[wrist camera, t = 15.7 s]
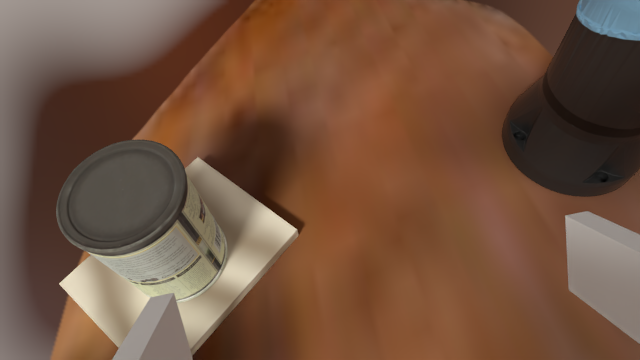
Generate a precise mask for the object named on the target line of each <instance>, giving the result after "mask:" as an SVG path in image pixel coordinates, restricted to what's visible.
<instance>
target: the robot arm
mask: <svg viewBox="0 0 640 360" xmlns="http://www.w3.org/2000/svg"><path fill="white" fill-rule="evenodd" d="M502 138H503V144H504V147H505V150H506V152H507V154H508V156H509V157H510V159H511V160H512V162H513V163H514V164H515V166H516V167H517V168H518V169H519V170H520V171H521V172H522V173H523V174H525V175H526V176H527V177H528V178H530V179H531V180H533V181H534V182H536V183H538V184H539V185H541V186H543V187H545V188H548V189H550V190H553V191H555V192H559V193H562V194H567V195H572V196H597V195H602V194H606V193H609V192H612V191H614V190H616V189H618V188H619V187H621V186H622V185H624V184H625V183H626V182H627V181H628V180H629V179H630V178H631V177H632V176H633V175H634V174H635V173H636V172H637V171H638V169H639V168H640V0H580V1H579V3H578V6H577V12H576V14H575V17H574V19H573V20H572V22H571V24H570V27H569V29H568V30H567V32H566V34H565V36H564V38H563V40H562V42H561V44H560V46H559V48H558V50H557V52H556V53H555V55H554V57H553V59H552V61H551V63H550V65H549V67H548V69H547V71H546V73H545V75H544V76H543V77H541V78H540V79H539V80H538V81H537V82H536V83H535V84H533V85H532V86H531V87H530V88H529V89H528V90H526V91H525V92H524V93H523V94H522V95H521V96H520V97H519V98H518V99H517V100H516V101H515V102H514V103H513V105H512V106H511V108H510V110H509V112H508V115H507V117H506V119H505V121H504V124H503V129H502ZM565 219H566V240H567V262H568V284H569V290H570V291H571V292H572V293H574V294H575V295H576V296H578V297H579V298H580V299H581V300H583V301H584V302H585V303H587V304H588V305H589V306H591V307H592V308H593V309H595V310H596V311H597V312H599V313H600V314H601V315H603V316H604V317H605V318H606V319H608V320H609V321H610V322H612V323H613V324H614V325H616V326H617V327H618V328H620V329H621V330H622V331H624V332H625V333H626V334H627V335H629V336H630V337H631V338H633V339H634V340H635V341H637V342H638V343H639V344H640V235H639V234H637V233H635V232H633V231H630V230H628V229H626V228H624V227H622V226H619V225H617V224H615V223H613V222H610V221H608V220H606V219H604V218H602V217H599V216H597V215H595V214H593V213H591V212H588V211H586V212H581V213H576V214H571V215H566V216H565ZM112 360H193V358H192V354H191V351H190V347H189V344H188V340H187V337H186V333H185V330H184V326H183V323H182V319H181V316H180V312H179V309H178V305H177V302H176V298H175V295H174V293H170V294H165V295H160V296H155V297H150V299H149V301H148V302H147V304H146V305H145V307H144V309H143V310H142V312H141V314H140V315H139V317H138V318H137V320H136V322H135V323H134V325H133V326H132V328H131V330H130V331H129V333H128V335H127V336H126V338H125V339H124V341H123V343H122V344H121V346H120V348H119V349H118V351H117V352H116V354H115V356H114V357H113V359H112Z"/></svg>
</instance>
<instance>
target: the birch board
mask: <svg viewBox="0 0 640 360" xmlns="http://www.w3.org/2000/svg"><path fill="white" fill-rule="evenodd" d="M185 172H186V174H187V176H188V177H189V179H190V180H191V182H192V184H193V185H194V187H195V188H196V190H197V192H198V193H199V195H200V196H201V198H202V200H203V201H204V203H205V205H206V206H207V208H208V209H209V211H210V213H211V214H212V216H213V217H214V219H215V221H216V222H217V224H218V225H219V226H220V227H221V229H222V231H223V232H224V235H225V237H226V241H227V248H228V252H227V260H226V263H225V266H224V269H223V271H222V273H221V274H220V276H219V278H218V279H217V280H216V281H215V283H214V284H213V285H212V286H211V287H210V288H209V289H208V290H207V291H205V292H204V293H202V294H201V295H199V296H197V297H196V298H193V299H191V300H189V301H185V302H182V303H177V305H178V309H179V312H180V316H181V319H182V323H183V326H184V330H185V333H186V337H187V340H188V344H189V347H190V351H191V354H192V356H193V354H194V353H195V352H196V351H197V350H198V349H199V348H200V347H201V345H202V344H203V343H204V342H205V341H206V340H207V339H208V337H209V336H210V335H211V334H212V333H213V332H214V331H215V330H216V328H217V327H218V326H219V325H220V324H221V323H222V322H223V320H224V319H225V318H226V317H227V316H228V315H229V314H230V313H231V311H232V310H233V309H234V308H235V307H236V306H237V305H238V303H239V302H240V301H241V300H242V299H243V298H244V297H245V296H246V294H247V293H248V292H249V291H250V290H251V289H252V288H253V286H254V285H255V284H256V283H257V282H258V281H259V280H260V279H261V277H262V276H263V275H264V274H265V273H266V272H267V271H268V269H269V268H270V267H271V266H272V265H273V264H274V263H275V262H276V260H277V259H278V258H279V257H280V256H281V255H282V254H283V252H284V251H285V250H286V249H287V248H288V247H289V246H290V245H291V243H292V242H293V241H294V240H295V239H296V238H297V237H298V231H297V229H296V228H294V227H293V226H292V225H290V224H289V223H287V222H286V221H285V220H283V219H282V218H281V217H279V216H278V215H276V214H275V213H274V212H272V211H271V210H270V209H268V208H267V207H266V206H264V205H263V204H261V203H260V202H259V201H257V200H256V199H255V198H253V197H252V196H250V195H249V194H248V193H246V192H245V191H244V190H242V189H241V188H239V187H238V186H237V185H235V184H234V183H233V182H231V181H230V180H229V179H227V178H226V177H224V176H223V175H222V174H220V173H219V172H218V171H216V170H215V169H213V168H212V167H211V166H209V165H208V164H207V163H205V162H204V161H202V160H201V159H200V158H196V159H195V160H194V161H193V162H192V163H191V164H190V165H189V166H188V167H187V168H185ZM60 285H61V286H62V288H63V289H64V290H65V291H66V292H67V293H68V294H69V295H70V296H71V297H72V298H73V299H74V300H75V302H76V303H77V304H78V305H79V306H80V307H81V308H82V309H83V310H84V311H85V312H86V313H87V314H88V316H89V317H90V318H91V319H92V320H93V321H94V322H95V323H96V324H97V325H98V326H99V327H100V328H101V329H102V331H103V332H104V333H105V334H106V335H107V336H108V337H109V338H110V339H111V340H112V341H113V342H114V343H115V345H116V346H117V347H118V348H120V346H121V344H122V343H123V341H124V339H125V338H126V336H127V335H128V333H129V331H130V330H131V328H132V326H133V325H134V323H135V322H136V320H137V318H138V317H139V315H140V314H141V312H142V310H143V309H144V307H145V305H146V304H147V302H148V301H149V299H150V298H149V297H148V296H146V295H145V294H144V293H143V292H142V291H141V290H139V289H138V288H137V287H135V286H134V285H132V284H131V283H130V282H128V281H127V280H125V279H124V278H123V277H121V276H120V275H118V274H117V273H116V272H114V271H113V270H111V269H110V268H109V267H107V266H106V265H105V264H103V263H102V262H100V261H99V260H98V259H96V258H95V257H94V256H92V255H90V256H89V257H88V258H87V259H86V260H85V261H83V262H82V263H81V264H80V265H79V266H78V267H77V268H76V269H75V270H74V271H73V272H72V273H70V274H69V275H68V276H67V277H66V278H65V279H64V280H63V281H62V282H60Z"/></svg>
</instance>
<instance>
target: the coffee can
mask: <svg viewBox="0 0 640 360" xmlns="http://www.w3.org/2000/svg"><path fill="white" fill-rule="evenodd" d="M56 215H57V221H58V224H59V227H60V229H61V231H62V233H63V235H64V236H65V237H66V238H67V239H68V240H69V241H70V242H71V243H72V244H74V245H75V246H77V247H78V248H80V249H82V250H84V251H87V252H88V253H89V254H91V255H92V256H94V257H95V258H96V259H98V260H99V261H100V262H102V263H103V264H105V265H106V266H107V267H109V268H110V269H111V270H113V271H114V272H116V273H117V274H118V275H120V276H121V277H123V278H124V279H125V280H127V281H128V282H130V283H131V284H132V285H134V286H135V287H137V288H138V289H139V290H141V291H142V292H143V293H144V294H145V295H146V296H148V297H149V298H150V297H155V296H160V295H165V294H170V293H174V295H175V298H176V302H177V303H182V302H185V301H189V300H191V299H193V298H196V297H197V296H199V295H201V294H202V293H204V292H205V291H207V290H208V289H209V288H210V287H211V286H212V285H213V284H214V283H215V281H216V280H217V279H218V278H219V276H220V274H221V273H222V271H223V269H224V266H225V263H226V260H227V252H228V248H227V241H226V237H225V235H224V232H223V231H222V229H221V227H220V226H219V225H218V224H217V222H216V221H215V219H214V217H213V216H212V214H211V213H210V211H209V209H208V208H207V206H206V205H205V203H204V201H203V200H202V198H201V196H200V195H199V193H198V192H197V190H196V188H195V187H194V185H193V184H192V182H191V180H190V179H189V177H188V176H187V174H186V172H185V169H184V166H183V164H182V162H181V161H180V159H179V158H178V156H177V155H176V154H175V153H174V152H173V151H172V150H170V149H169V148H168V147H166V146H164V145H162V144H160V143H157V142H154V141H148V140H129V141H122V142H118V143H115V144H112V145H109V146H107V147H105V148H102V149H100V150H99V151H97V152H95V153H94V154H92V155H90V156H89V157H88V158H86V159H85V160H84V161H83V162H82V163H80V164H79V165H78V166H77V167H76V168H75V169H74V170H73V172H72V173H71V174H70V175H69V177H68V179H67V180H66V182H65V183H64V185H63V187H62V189H61V192H60V194H59V197H58V201H57V208H56Z"/></svg>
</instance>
